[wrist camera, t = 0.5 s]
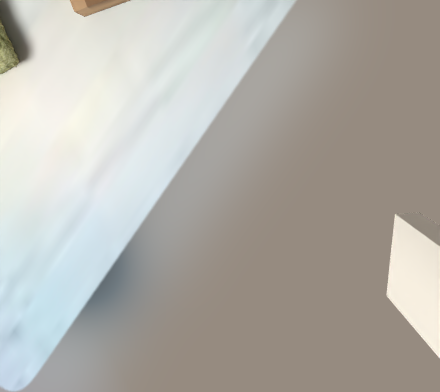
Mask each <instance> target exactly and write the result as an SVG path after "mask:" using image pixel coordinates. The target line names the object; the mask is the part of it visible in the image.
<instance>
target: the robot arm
mask: <svg viewBox="0 0 440 392" xmlns="http://www.w3.org/2000/svg"><path fill="white" fill-rule="evenodd" d="M387 297H388V298H389V299H390V300H391V301H392V303H393V304H394V305H395V306H396V307H397V308H398V310H399V311H400V312H401V313H402V314H403V316H404V317H405V318H406V319H407V320H408V321H409V323H410V324H411V325H412V326H413V327H414V329H415V330H416V331H417V332H418V333H419V334H420V336H421V337H422V338H423V339H424V340H425V341H426V343H427V344H428V345H429V346H430V347H431V349H432V350H433V351H434V352H435V353H436V354H437V356H438V357H439V358H440V225H438V224H437V223H435V222H434V221H432V220H431V219H429V218H428V217H426V216H424V215H423V214H421V213H404V214H395V220H394V231H393V239H392V249H391V258H390V268H389V277H388V287H387Z"/></svg>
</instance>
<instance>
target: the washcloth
mask: <svg viewBox="0 0 440 392" xmlns="http://www.w3.org/2000/svg"><path fill="white" fill-rule="evenodd" d="M18 63H19V59H18V58H17V54H15V52H14V48H13V46H12V43H11V41H10V40H9V38H8V36H7V34H6V33H5V27H4V26H3V25H2V24H1V20H0V74H2V73H4V72H6V71H7V70H9V69H11V67H14V66H16V65H18ZM16 67H17V66H16Z"/></svg>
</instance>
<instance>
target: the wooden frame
mask: <svg viewBox="0 0 440 392" xmlns="http://www.w3.org/2000/svg"><path fill="white" fill-rule="evenodd" d="M127 1H130V0H70V2H71V4H72V7H73V9H74V12H76V13H78V14H80V15H82V16H84V17H85V16H88V15H91V14H94V13H96V12H99V11H102V10H105V9H108V8H110V7H113V6H116V5H119V4H121V3H124V2H127Z"/></svg>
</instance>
